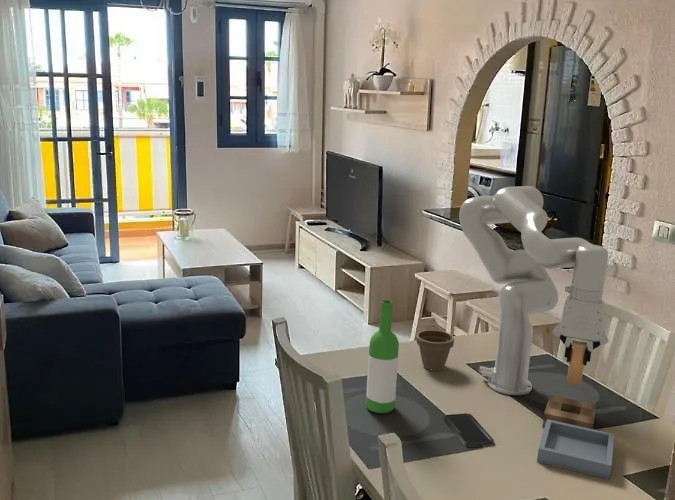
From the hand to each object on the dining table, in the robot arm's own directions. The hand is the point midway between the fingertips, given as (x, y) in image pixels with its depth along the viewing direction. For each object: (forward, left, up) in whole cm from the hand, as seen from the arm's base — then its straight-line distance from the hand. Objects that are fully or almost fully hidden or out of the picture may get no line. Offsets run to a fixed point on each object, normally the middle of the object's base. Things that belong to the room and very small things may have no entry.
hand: (576, 361), depth 177 cm
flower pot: (-42, +18, -18) cm, 49 cm away
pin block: (0, 0, -17) cm, 17 cm away
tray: (+3, -16, -17) cm, 24 cm away
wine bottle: (-47, -16, -17) cm, 53 cm away
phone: (-23, -17, -18) cm, 34 cm away
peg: (0, 0, -6) cm, 6 cm away
